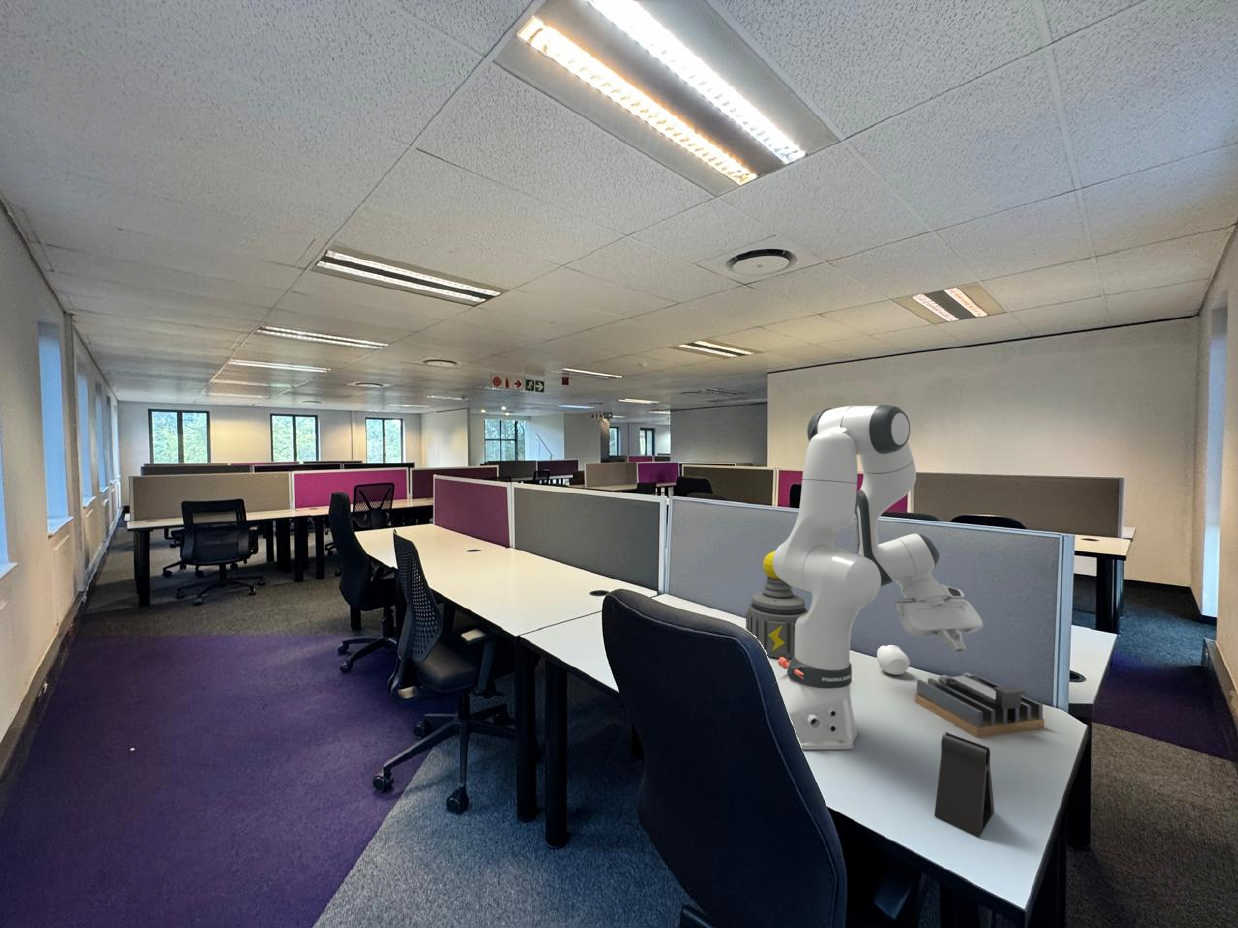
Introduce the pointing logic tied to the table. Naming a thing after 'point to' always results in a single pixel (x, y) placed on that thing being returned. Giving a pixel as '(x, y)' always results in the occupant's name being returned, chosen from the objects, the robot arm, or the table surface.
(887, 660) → the motion sensor
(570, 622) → the table surface
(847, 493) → the robot arm
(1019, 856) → the table surface
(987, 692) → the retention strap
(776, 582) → the tesla coil
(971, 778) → the black coffee bag
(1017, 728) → the heat sink
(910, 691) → the table surface
